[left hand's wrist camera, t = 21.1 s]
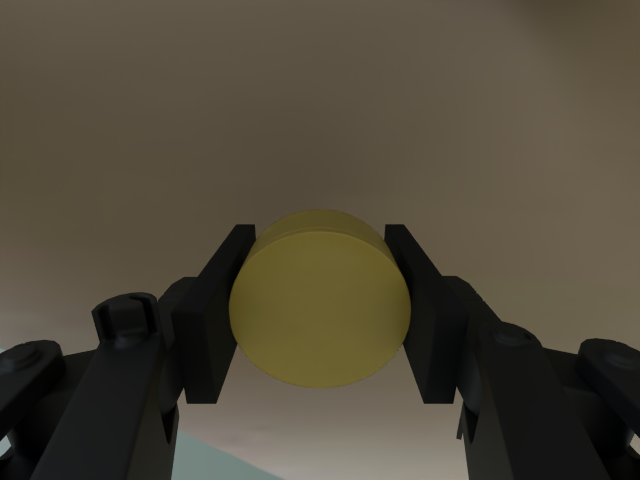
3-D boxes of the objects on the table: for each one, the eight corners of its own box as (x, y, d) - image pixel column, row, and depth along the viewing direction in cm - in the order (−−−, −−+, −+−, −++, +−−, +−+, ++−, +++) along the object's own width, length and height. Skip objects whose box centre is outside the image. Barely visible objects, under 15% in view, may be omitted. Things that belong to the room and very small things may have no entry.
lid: (213, 277, 12) (189, 313, 10) (324, 174, 11) (325, 190, 9) (315, 366, 13) (315, 414, 11) (425, 285, 12) (448, 322, 10)
